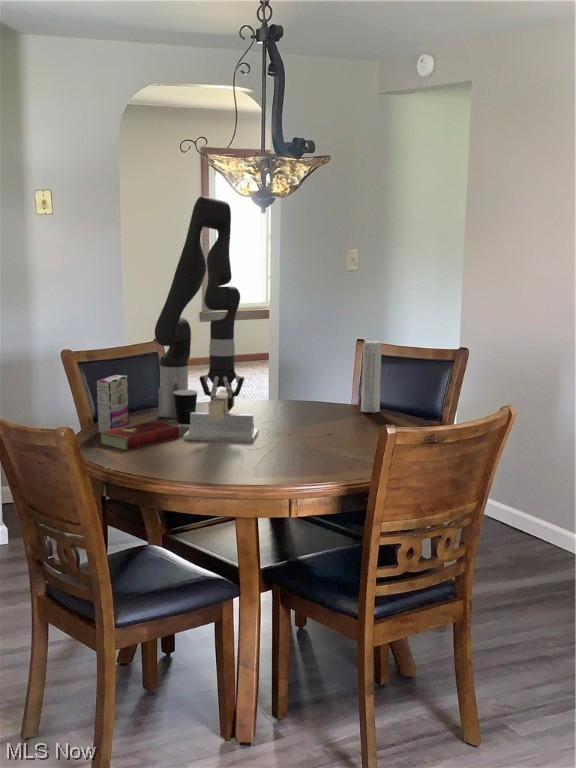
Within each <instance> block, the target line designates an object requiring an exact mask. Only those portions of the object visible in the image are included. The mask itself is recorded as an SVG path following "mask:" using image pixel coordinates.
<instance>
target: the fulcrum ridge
mask: <svg viewBox="0 0 576 768" xmlns="http://www.w3.org/2000/svg"><path fill="white" fill-rule="evenodd" d="M188 428H189V429H188V430H187V431H186V432H184V433H183V440H184V441H200V442H201V441H203V442H228V443H229V442H230V443H248V444H249V443H251V444H252V443H254V442H255V440H256V439H257V437H258V435H259V428H255V423H254V414H252V413H244V414H243V413H228V414H227V415H226V416H225V418H224V419H223V420H209V412H202V411H201V412H197V411H195V412H191V413H190V424H189V427H188Z"/></svg>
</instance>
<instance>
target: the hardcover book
mask: <svg viewBox="0 0 576 768" xmlns="http://www.w3.org/2000/svg"><path fill="white" fill-rule="evenodd" d="M98 434H100V440H101V441H100V444H103V445H107V446H111V447H115V448H119V449H122V450H125V451H128V450H132V449H137V448H141V447H146V446H149V445H154V444H158V443H163V442H166V441H170V440H175V439H179V438H181V427H179V426H178V424H173V423H172V424H171V423H168V422H162V421H158V420H149V421H144V422H140V423H135V424H129V426H124V427H119V428H115V429H110V430H105V431H100V432H99V431H98Z"/></svg>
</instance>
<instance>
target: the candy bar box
mask: <svg viewBox="0 0 576 768" xmlns="http://www.w3.org/2000/svg"><path fill="white" fill-rule="evenodd" d="M128 380H129V379H128V375H123V374H120V375H119V374H114V375H111V376H107V377H105V378H101V379H98V380H96V402H97V403H96V404H97V421H98V422H97V423H98V426H97V427H98V429H97V430H98V433H99V432H100V431H105V430H110V429H115V428H119V427H124V426H129V425H130V415H129V411H130V410H129V382H128Z"/></svg>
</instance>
